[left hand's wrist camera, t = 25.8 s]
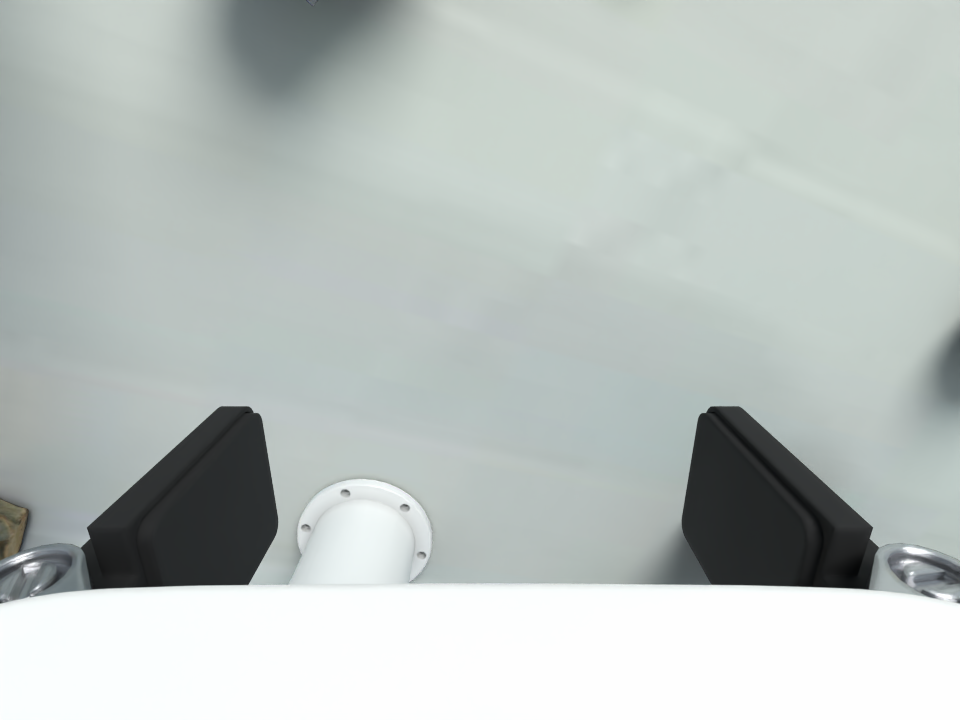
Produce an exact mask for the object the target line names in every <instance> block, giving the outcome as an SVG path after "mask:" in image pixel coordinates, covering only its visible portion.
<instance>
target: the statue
mask: <svg viewBox="0 0 960 720" xmlns="http://www.w3.org/2000/svg"><path fill="white" fill-rule="evenodd" d="M28 512H29V511H28V509H26V508H22V507H18V506H16V505H13V504H11V503H9V502H6V501H4V500H2V499H0V561H1V560H3V559H5V558H7V557H9V556H12V555H14V554H17V553H18V552H19V549H20V546H21V542H22V538H23V533H24V530H25V527H26V525H27V517H28Z"/></svg>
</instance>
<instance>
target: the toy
mask: <svg viewBox="0 0 960 720" xmlns="http://www.w3.org/2000/svg"><path fill="white" fill-rule="evenodd" d="M307 1H308V2H309V3H310V4H311V5H312V6H313V5H314V4H315V3H316V2H317V1H318V0H307Z"/></svg>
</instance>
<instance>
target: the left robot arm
mask: <svg viewBox="0 0 960 720" xmlns="http://www.w3.org/2000/svg"><path fill="white" fill-rule="evenodd" d="M87 529H88V532H89V535H90V538H91V539H90V540H89V541H88V542H87V543H85V544H84V545H83V546H82V547H81V548H80V547H77V546H75V545H73V544H62V543H57V544H49V545H42V546H38V547H35V548H31V549H28V550H24V551H21V552H19V553H17V554H14V555H12V556H9V557H7V558H5V559H3V560H1V561H0V720H960V561H959V560H957V559H955V558H953V557H951V556H948V555H946V554H943V553H941V552H938V551H936V550H932V549H929V548H925V547H922V546H918V545H911V544H903V543H898V544H887V545H885V546H883V547H880V548H879V547H878V546H877V545H876V544H875V543H873V542H872V541H871V540H870V539H869V538H870V535H871V532H872V529H873V527H872V526H871V525H870V524H868V523H867V522H866V521H865V520H864V519H863V518H862V517H861V516H860V515H859V514H858V513H856V512H855V511H854V510H853V509H852V508H851V507H850V506H849V505H848V504H847V503H845V502H844V501H843V500H842V499H841V498H840V497H839V496H838V495H837V494H836V493H834V492H833V491H832V490H831V489H830V488H829V487H828V486H827V485H826V484H825V483H823V482H822V481H821V480H820V479H819V478H818V477H817V476H816V475H815V474H814V473H813V472H811V471H810V470H809V469H808V468H807V467H806V466H805V465H804V464H803V463H802V462H800V461H799V460H798V459H797V458H796V457H795V456H794V455H793V454H792V453H791V452H789V451H788V450H787V449H786V448H785V447H784V446H783V445H782V444H781V443H780V442H778V441H777V440H776V439H775V438H774V437H773V436H772V435H771V434H770V433H769V432H768V431H766V430H765V429H764V428H763V427H762V426H761V425H760V424H759V423H758V422H757V421H755V420H754V419H753V418H752V417H751V416H750V415H749V414H748V413H747V412H746V411H744V410H743V409H742V408H741V407H739V406H714V407H710V408H709V409H708V411H707V412H706V413H702V414H700V416H699V418H698V423H697V429H696V435H695V441H694V447H693V453H692V460H691V466H690V472H689V478H688V484H687V490H686V496H685V503H684V509H683V515H682V529H683V533H684V536H685V538H686V540H687V541H688V543H689V545H690V547H691V548H692V550H693V552H694V554H695V556H696V557H697V559H698V561H699V563H700V565H701V566H702V568H703V570H704V572H705V574H706V575H707V577H708V579H709V581H710V583H711V584H712V585H657V584H545V583H430V584H409V582H411V581H412V580H414V579H415V578H416V577H417V576H418V575H419V574H420V573H421V572H422V570H423V569H424V567H425V566H426V564H427V562H428V559H429V557H430V554H431V548H432V529H431V524H430V521H429V519H428V517H427V515H426V513H425V511H424V510H423V509H422V507H421V506H420V504H419V503H418V502H417V501H416V500H415V499H413V498H412V497H411V496H410V495H409V494H407V493H406V492H404V491H403V490H401V489H400V488H397V487H395V486H393V485H390V484H388V483H385V482H381V481H377V480H369V479H353V480H346V481H342V482H338V483H335V484H333V485H331V486H328V487H326V488H324V489H323V490H322V491H320V492H319V493H317V494H316V495H315V496H314V497H313V498H312V499H311V500H310V502H309V503H308V504H307V506H306V508H305V509H304V511H303V513H302V515H301V518H300V520H299V523H298V528H297V542H298V546H299V550H300V553H301V555H302V556H301V558H300V560H299V563H298V565H297V567H296V569H295V571H294V573H293V576H292V578H291V580H290V582H289V584H288V585H248V584H249V583H250V581H251V579H252V577H253V575H254V574H255V572H256V570H257V568H258V566H259V565H260V563H261V561H262V559H263V557H264V556H265V554H266V552H267V550H268V548H269V547H270V545H271V543H272V541H273V540H274V538H275V536H276V533H277V529H278V515H277V509H276V503H275V496H274V490H273V484H272V478H271V472H270V466H269V460H268V453H267V447H266V441H265V435H264V429H263V423H262V418H261V416H260V414H258V413H254V412H253V411H252V409H251V408H250V407H246V406H221V407H219V408H218V409H217V410H216V411H214V412H213V413H212V414H211V415H210V416H209V417H208V418H207V419H206V420H205V421H203V422H202V423H201V424H200V425H199V426H198V427H197V428H196V429H195V430H194V431H192V432H191V433H190V434H189V435H188V436H187V437H186V438H185V439H184V440H183V441H182V442H180V443H179V444H178V445H177V446H176V447H175V448H174V449H173V450H172V451H171V452H169V453H168V454H167V455H166V456H165V457H164V458H163V459H162V460H161V461H160V462H158V463H157V464H156V465H155V466H154V467H153V468H152V469H151V470H150V471H149V472H147V473H146V474H145V475H144V476H143V477H142V478H141V479H140V480H139V481H138V482H137V483H135V484H134V485H133V486H132V487H131V488H130V489H129V490H128V491H127V492H126V493H124V494H123V495H122V496H121V497H120V498H119V499H118V500H117V501H116V502H115V503H113V504H112V505H111V506H110V507H109V508H108V509H107V510H106V511H105V512H104V513H102V514H101V515H100V516H99V517H98V518H97V519H96V520H95V521H94V522H93V523H92V524H90V525H89V526H88V527H87Z"/></svg>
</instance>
